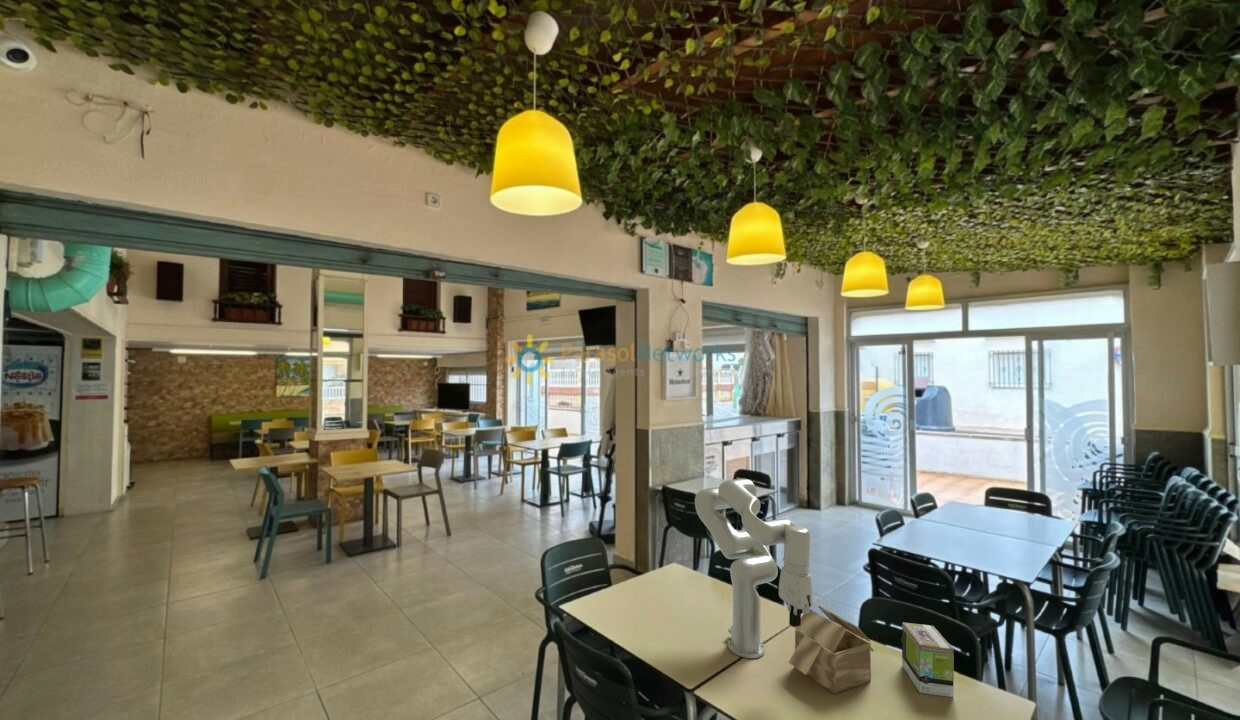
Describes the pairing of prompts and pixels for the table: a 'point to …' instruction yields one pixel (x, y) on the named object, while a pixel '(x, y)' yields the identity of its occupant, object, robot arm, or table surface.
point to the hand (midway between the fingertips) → (794, 625)
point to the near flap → (815, 639)
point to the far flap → (845, 624)
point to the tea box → (928, 659)
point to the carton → (841, 663)
